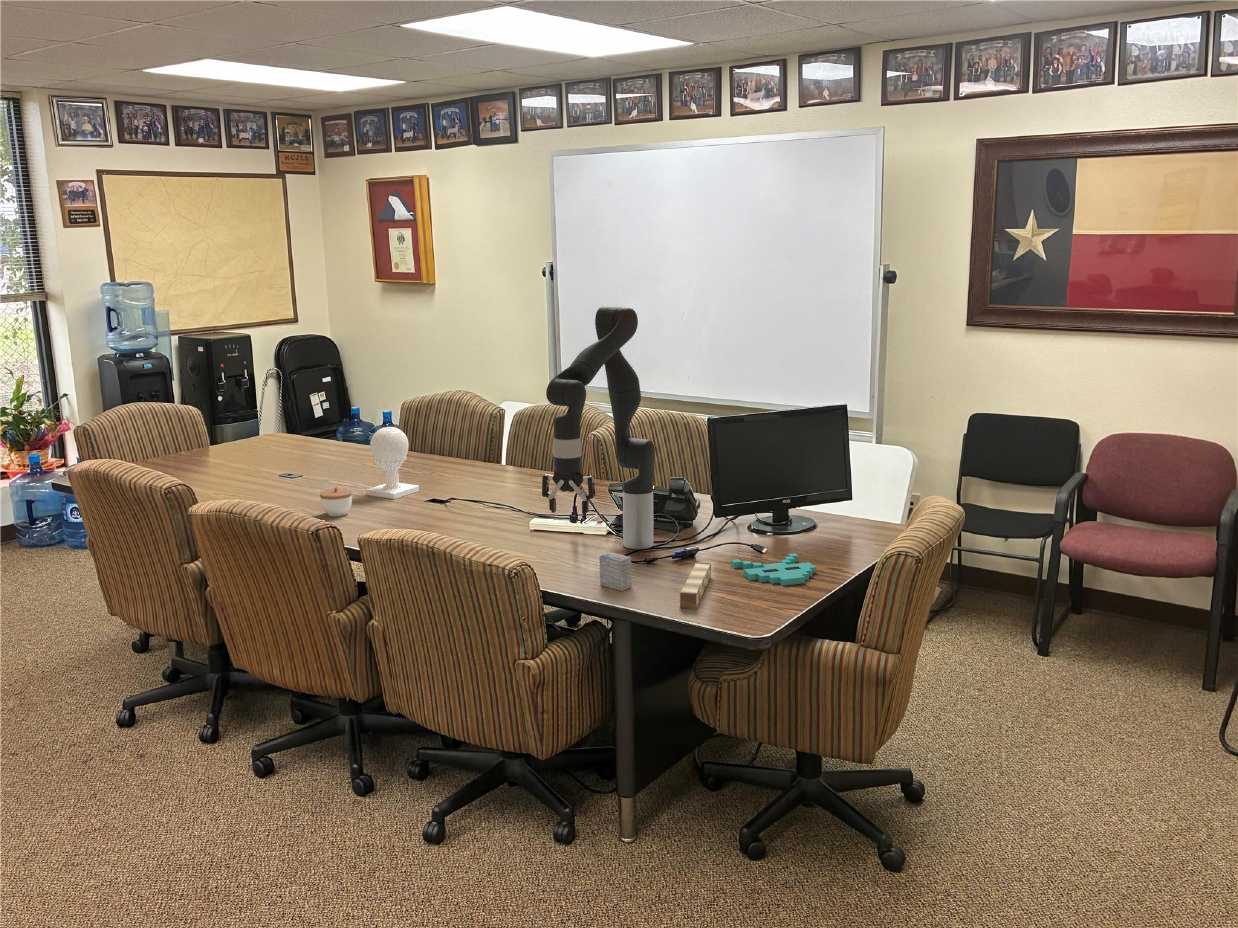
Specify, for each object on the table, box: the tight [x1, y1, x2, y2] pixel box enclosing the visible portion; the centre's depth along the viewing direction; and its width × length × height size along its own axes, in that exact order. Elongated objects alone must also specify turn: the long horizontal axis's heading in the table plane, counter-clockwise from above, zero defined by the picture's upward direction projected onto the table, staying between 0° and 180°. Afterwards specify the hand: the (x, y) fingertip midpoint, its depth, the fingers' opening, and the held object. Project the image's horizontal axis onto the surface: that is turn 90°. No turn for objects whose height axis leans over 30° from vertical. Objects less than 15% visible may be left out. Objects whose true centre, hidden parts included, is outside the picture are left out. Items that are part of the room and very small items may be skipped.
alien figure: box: [730, 553, 817, 587], centre depth 293 cm, size 20×2×20 cm
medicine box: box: [599, 551, 633, 592], centre depth 283 cm, size 8×4×9 cm, turn 48°
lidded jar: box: [319, 487, 353, 517], centre depth 359 cm, size 11×11×9 cm
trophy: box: [365, 426, 420, 500], centre depth 385 cm, size 14×14×25 cm
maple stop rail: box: [679, 561, 712, 610], centre depth 278 cm, size 26×4×4 cm, turn 167°
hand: (569, 512), depth 282 cm, fingers open, 8 cm apart
